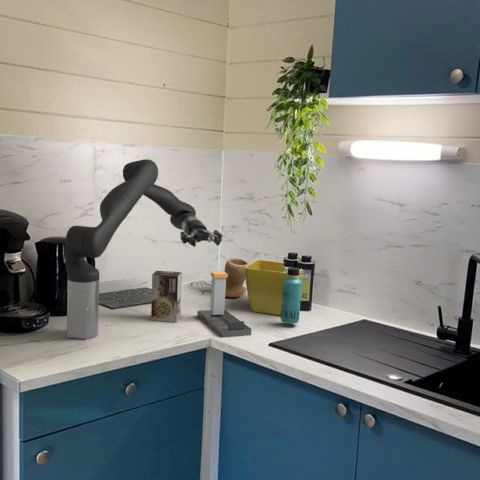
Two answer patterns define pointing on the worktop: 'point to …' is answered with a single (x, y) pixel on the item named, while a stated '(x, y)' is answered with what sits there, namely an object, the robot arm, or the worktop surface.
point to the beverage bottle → (291, 297)
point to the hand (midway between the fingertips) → (206, 243)
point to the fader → (218, 292)
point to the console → (224, 324)
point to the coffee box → (166, 296)
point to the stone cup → (235, 277)
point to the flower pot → (266, 285)
